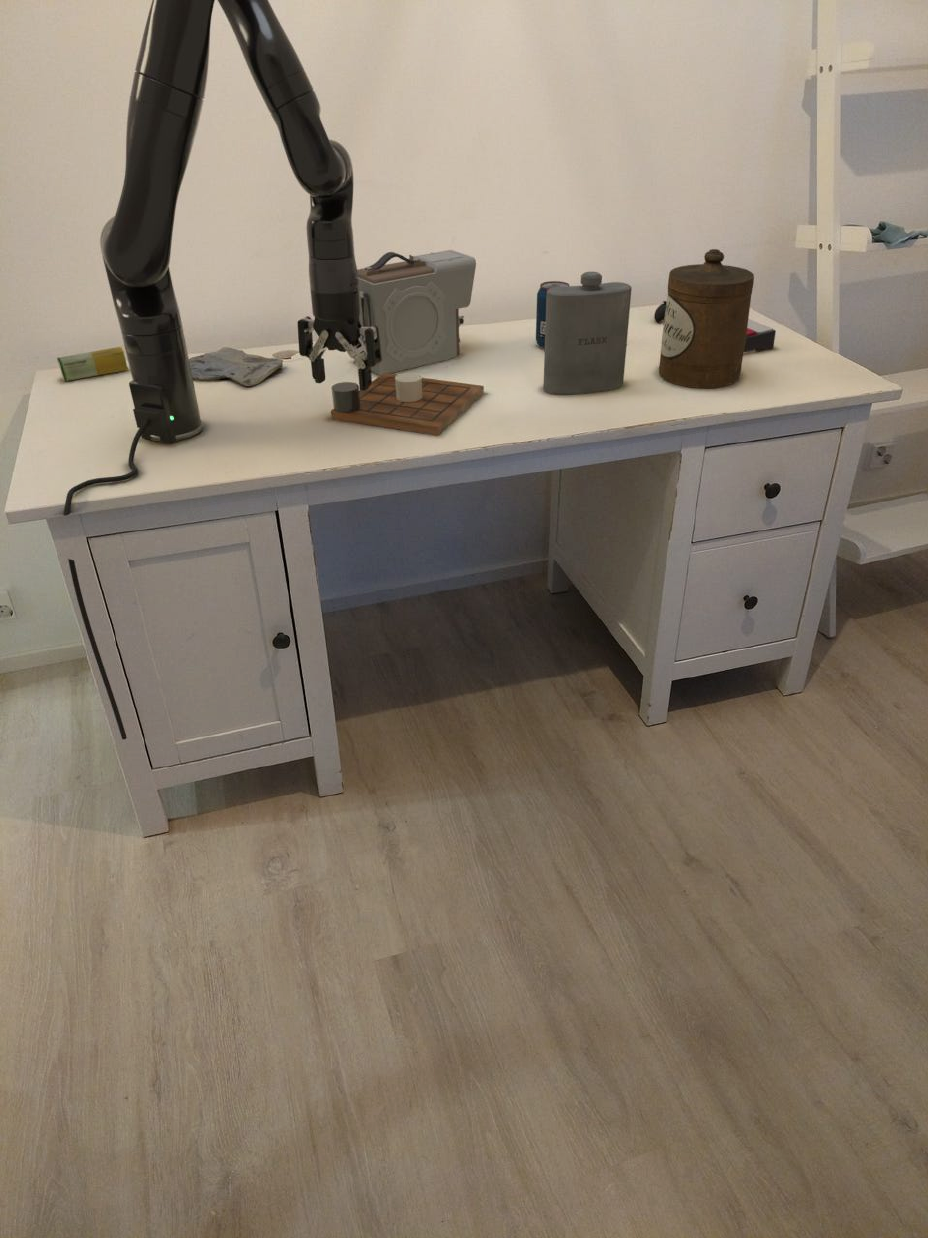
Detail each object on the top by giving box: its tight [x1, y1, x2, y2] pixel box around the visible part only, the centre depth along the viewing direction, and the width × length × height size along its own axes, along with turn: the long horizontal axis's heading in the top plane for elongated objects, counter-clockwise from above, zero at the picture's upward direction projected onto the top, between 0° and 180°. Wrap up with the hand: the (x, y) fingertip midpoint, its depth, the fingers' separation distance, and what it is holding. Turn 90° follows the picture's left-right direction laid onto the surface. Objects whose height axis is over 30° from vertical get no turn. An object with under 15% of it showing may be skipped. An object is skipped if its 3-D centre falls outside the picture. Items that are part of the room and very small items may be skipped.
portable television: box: [353, 249, 477, 376], centre depth 168 cm, size 12×24×30 cm, turn 124°
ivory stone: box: [395, 372, 423, 402], centre depth 154 cm, size 5×5×4 cm
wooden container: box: [658, 248, 755, 389], centre depth 159 cm, size 15×15×22 cm
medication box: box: [56, 346, 129, 382], centre depth 170 cm, size 12×3×4 cm, turn 118°
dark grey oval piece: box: [654, 300, 667, 324], centre depth 194 cm, size 10×5×6 cm
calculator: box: [744, 318, 777, 354], centre depth 177 cm, size 11×4×15 cm
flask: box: [542, 271, 633, 396], centre depth 155 cm, size 15×6×20 cm, turn 103°
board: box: [330, 373, 485, 436], centre depth 155 cm, size 20×20×2 cm
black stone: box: [330, 381, 360, 412], centre depth 150 cm, size 5×5×4 cm
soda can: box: [535, 280, 570, 350], centre depth 178 cm, size 7×7×12 cm
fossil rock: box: [189, 346, 284, 387], centre depth 170 cm, size 18×15×2 cm
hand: (342, 385), depth 148 cm, fingers open, 8 cm apart
